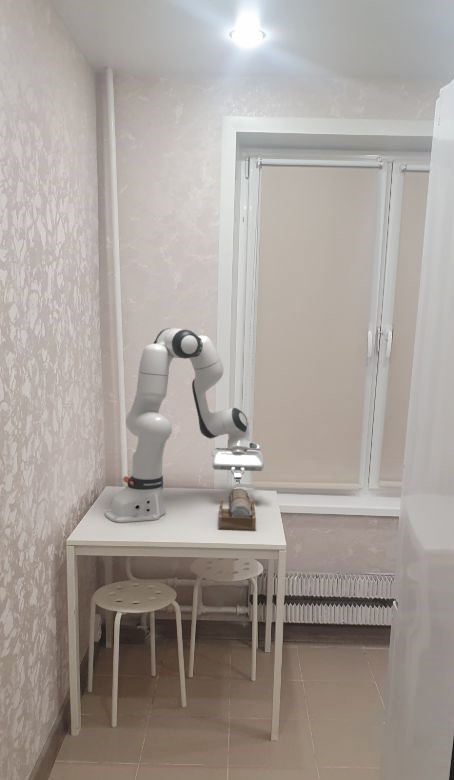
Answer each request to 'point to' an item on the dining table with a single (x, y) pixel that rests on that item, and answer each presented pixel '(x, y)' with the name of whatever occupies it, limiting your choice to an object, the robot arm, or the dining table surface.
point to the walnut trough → (236, 520)
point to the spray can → (239, 503)
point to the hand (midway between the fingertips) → (237, 478)
